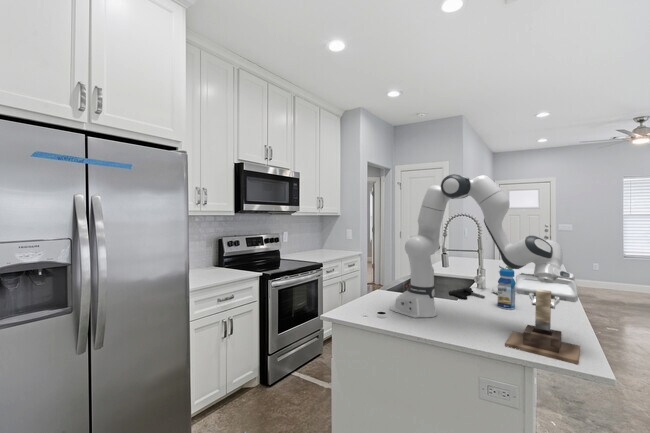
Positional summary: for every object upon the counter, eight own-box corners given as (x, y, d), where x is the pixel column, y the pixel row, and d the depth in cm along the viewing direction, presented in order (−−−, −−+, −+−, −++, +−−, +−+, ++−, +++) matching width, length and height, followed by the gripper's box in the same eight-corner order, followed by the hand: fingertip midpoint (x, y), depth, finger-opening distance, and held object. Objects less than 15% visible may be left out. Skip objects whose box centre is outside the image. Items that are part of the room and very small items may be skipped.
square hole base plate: (504, 346, 124) (505, 330, 123) (513, 333, 136) (513, 319, 136) (578, 364, 109) (578, 346, 109) (579, 348, 122) (580, 333, 122)
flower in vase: (493, 295, 196) (494, 254, 195) (490, 290, 207) (491, 251, 206) (518, 297, 192) (519, 255, 192) (513, 292, 203) (514, 252, 202)
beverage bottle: (518, 310, 168) (519, 271, 167) (502, 309, 168) (503, 271, 167) (509, 305, 176) (510, 268, 176) (493, 305, 176) (494, 268, 176)
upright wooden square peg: (535, 328, 122) (536, 291, 122) (536, 325, 125) (537, 289, 125) (549, 330, 120) (550, 293, 119) (550, 328, 122) (551, 291, 122)
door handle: (490, 293, 192) (466, 286, 206) (469, 298, 182) (445, 290, 196) (490, 298, 193) (466, 291, 206) (469, 303, 182) (445, 295, 196)
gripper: (515, 268, 134) (510, 296, 127) (578, 275, 121) (576, 307, 113) (517, 277, 137) (512, 305, 130) (579, 284, 124) (577, 316, 117)
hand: (543, 306), depth 122 cm, fingers closed on upright wooden square peg, 4 cm apart
